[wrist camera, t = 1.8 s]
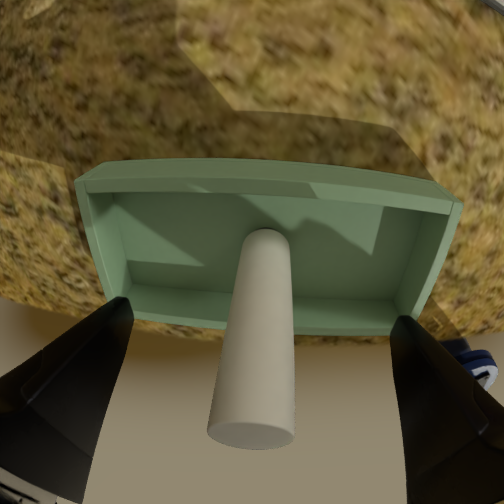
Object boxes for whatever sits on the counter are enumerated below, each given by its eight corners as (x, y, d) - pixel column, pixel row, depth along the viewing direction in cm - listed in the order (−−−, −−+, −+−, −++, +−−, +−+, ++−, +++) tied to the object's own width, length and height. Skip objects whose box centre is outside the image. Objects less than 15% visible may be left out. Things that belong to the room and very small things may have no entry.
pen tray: (436, 181, 11) (464, 203, 9) (396, 302, 15) (409, 335, 12) (103, 161, 11) (72, 180, 9) (129, 285, 15) (112, 315, 13)
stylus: (294, 256, 13) (302, 447, 6) (252, 266, 13) (227, 451, 6) (281, 217, 12) (282, 419, 5) (236, 229, 12) (190, 422, 5)
